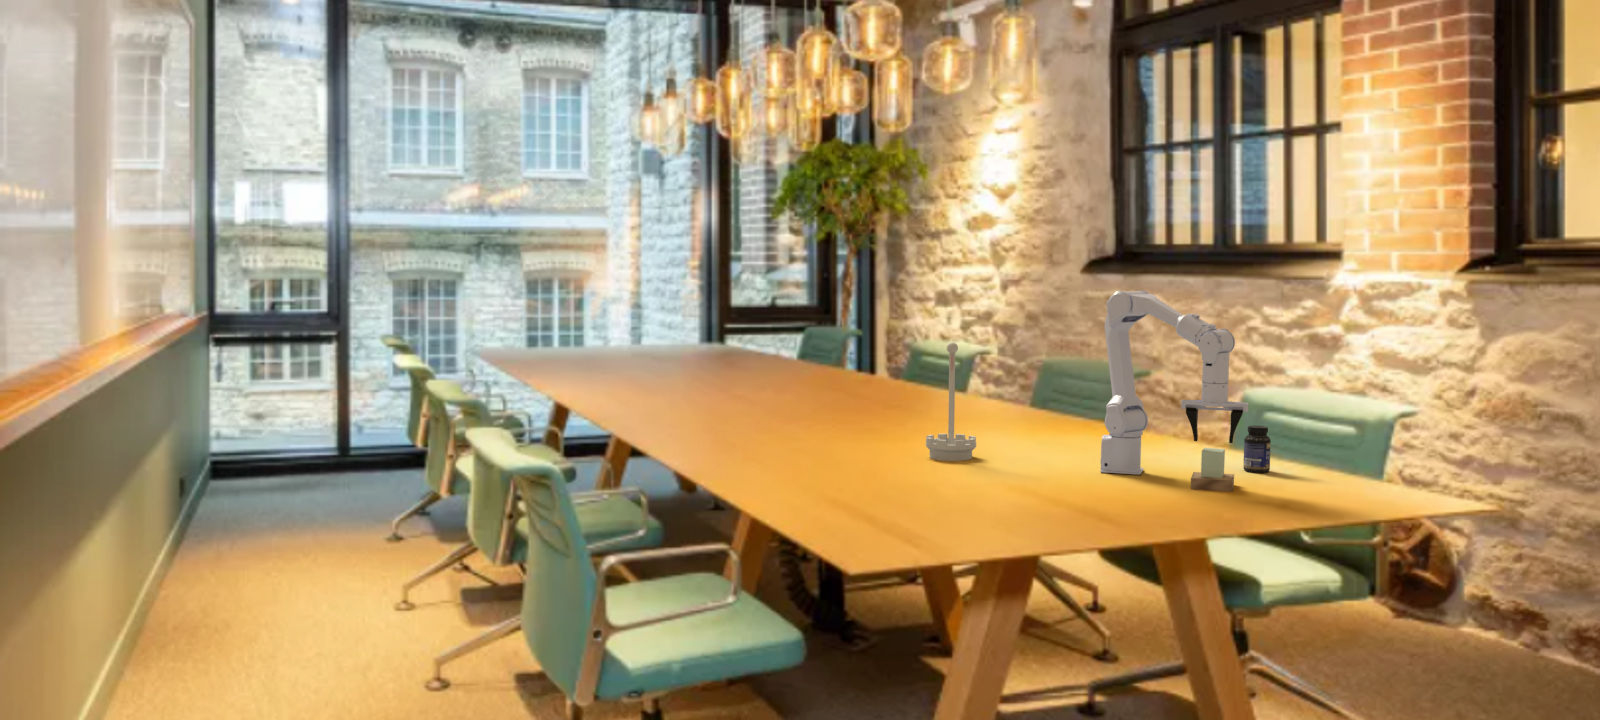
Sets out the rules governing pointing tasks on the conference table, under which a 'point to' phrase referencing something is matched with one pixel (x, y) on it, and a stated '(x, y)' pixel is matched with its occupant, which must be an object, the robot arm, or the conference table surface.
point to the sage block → (1212, 463)
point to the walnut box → (1212, 482)
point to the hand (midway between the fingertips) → (1213, 441)
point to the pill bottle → (1257, 450)
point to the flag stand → (951, 426)
